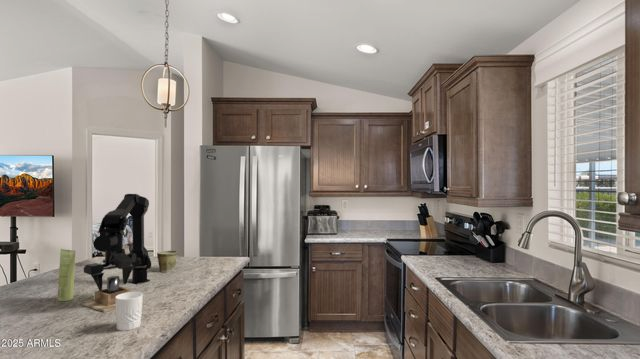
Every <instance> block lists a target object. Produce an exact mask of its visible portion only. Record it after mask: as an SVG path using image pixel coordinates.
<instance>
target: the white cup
mask: <svg viewBox="0 0 640 359" xmlns="http://www.w3.org/2000/svg"><path fill="white" fill-rule="evenodd" d="M143 299H144V293H143V292H141V291H130V292H126V293H122V294H119V295H117V296H116V297H115V308H116V309H115V321H116V330H117V331H121V332H123V331H124V332H125V331H131V330H135V329H138V328H139V327H140V326H141V322H142V315H143V313H142V312H143V304H144V303H143V302H144V300H143Z"/></svg>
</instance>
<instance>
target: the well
mask: <svg viewBox="0 0 640 359" xmlns="http://www.w3.org/2000/svg"><path fill="white" fill-rule="evenodd" d="M126 292H131V288H127V287H123V286H120V285H119V292H115V293H111V294H107V288H102V290H101V291H100V290H99V289H98V290H95V291H94V299H93V300H92V299H91V300H89V301H84V302H82V306H84V307H88V308H90V309H93V310H97V311H99V312H103V313H105V312H108V311H109V312H111V311H112V310H116V308H115V297H116V296H117V295H119V294H122V293H126Z"/></svg>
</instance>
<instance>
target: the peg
mask: <svg viewBox="0 0 640 359" xmlns="http://www.w3.org/2000/svg"><path fill="white" fill-rule="evenodd" d="M119 286H120V275H112V276H108V277H107V278H106V289H107V294H111V293H115V292H119Z"/></svg>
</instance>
